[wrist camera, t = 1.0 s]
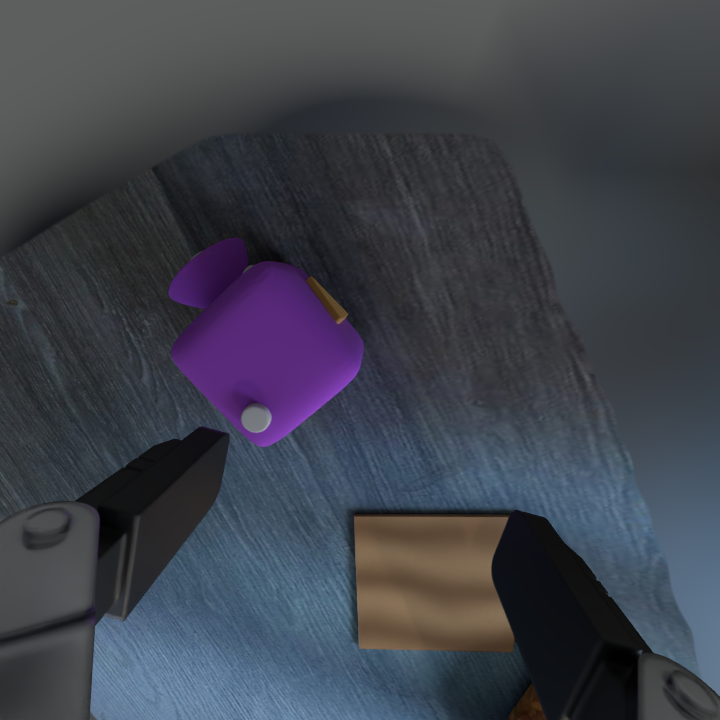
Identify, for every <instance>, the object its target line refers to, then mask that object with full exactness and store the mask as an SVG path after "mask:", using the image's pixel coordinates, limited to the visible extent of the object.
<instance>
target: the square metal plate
mask: <svg viewBox="0 0 720 720" xmlns="http://www.w3.org/2000/svg"><path fill="white" fill-rule="evenodd" d="M509 516H510V514H354V534H355V559H356V584H357V609H358V634H359V649H396V650H437V651H478V652H513V649H514V635H513V633H512V630H511V627H510V625H509V622H508V620H507V617H506V615H505V612H504V609H503V607H502V604H501V602H500V599H499V597H498V594H497V591H496V589H495V586H494V584H493V580H492V573H491V566H492V559H493V556H494V553H495V551H496V548H497V546H498V543H499V541H500V538H501V536H502V533H503V531H504V528H505V526H506V523H507V521H508V518H509Z"/></svg>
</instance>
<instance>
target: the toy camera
mask: <svg viewBox="0 0 720 720" xmlns="http://www.w3.org/2000/svg"><path fill="white" fill-rule="evenodd" d="M168 294H169V297H170V298H171V299H172V300H174V301H176V302H179V303H181V304H185V305H189V306H193V307H197V308H202V309H205V310H204V311H203V312H202V313H201V314H200V315H199V316H198V317H197V318H196V319H195V320H194V321H193V322H192V323H191V324H190V325H189V326H188V327H187V328H186V329H185V330H184V332H183V333H182V334H181V335H180V336H179V337H178V339H177V340H176V341H175V343H174V345H173V347H172V349H171V356H172V359H173V361H174V362H175V364H176V365H177V367H178V368H179V369H180V370H181V371H182V372H183V373H184V375H185V376H186V377H187V378H188V379H189V380H190V381H191V382H192V383H193V384H194V385H195V386H196V387H197V388H198V389H199V390H200V391H201V392H202V393H203V394H204V395H205V396H206V397H207V399H208V400H209V401H210V402H211V403H212V404H213V405H214V406H215V407H216V408H217V409H218V410H219V411H220V412H221V413H222V414H223V415H224V416H225V417H226V418H227V419H228V420H229V421H230V422H231V423H232V424H233V425H234V426H235V427H236V428H237V429H238V430H239V431H240V432H241V433H242V434H243V435H244V436H245V437H246V438H247V439H248V440H250V441H251V442H252V443H254V444H255V445H258V446H261V447H265V446H269V445H271V444H273V443H275V442H277V441H279V440H280V439H282V438H283V437H284V436H286V435H287V434H288V433H290V432H291V431H292V430H293V429H295V428H296V427H297V426H298V425H300V424H301V423H302V422H303V421H304V420H306V419H307V418H308V417H309V416H310V415H312V414H313V413H314V412H315V411H317V410H318V409H319V408H320V407H321V406H323V405H324V404H325V403H326V402H327V401H329V400H330V399H331V398H332V397H334V396H335V395H336V394H337V393H338V392H339V391H341V390H342V389H343V388H344V387H345V386H346V385H347V384H348V383H350V382H351V381H352V380H353V378H354V377H355V376H356V374H357V373H358V371H359V368H360V365H361V361H362V356H363V350H364V345H363V341H362V339H361V337H360V335H359V334H358V333H357V331H356V330H355V329H354V328H353V326H352V325H351V324H350V323H349V322H348V321H347V319H346V317H347V315H348V313H347V312H346V311H345V310H344V309H343V308H342V307H341V306H340V305H339V304H338V303H337V302H336V301H335V300H334V299H333V298H332V297H331V296H330V295H329V294H328V293H327V291H326V290H325V289H324V288H323V287H322V286H321V285H320V284H319V283H318V282H317V281H316V280H315V279H314V278H313V277H311V276H310V277H309V276H308V275H307V274H306V273H305V272H304V271H303V270H301V269H300V268H298V267H296V266H293V265H289V264H286V263H281V262H274V261H264V262H260V263H258V264H256V265H250V266H249V263H248V255H247V249H246V245H245V243H244V241H243V240H242V239H241V238H229V239H226V240H223V241H220V242H218V243H216V244H214V245H212V246H210V247H208V248H207V249H205V250H203V251H201V252H199V253H198V254H196V255H195V256H194V257H192V258H191V260H190V261H189V262H188V263H187V264H186V265H185V266H184V267H183V268H182V269H181V270H180V271H179V272H178V273H177V275H176V276H175V277H174V279H173V281H172V283H171V285H170V287H169V292H168Z"/></svg>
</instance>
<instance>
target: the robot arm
mask: <svg viewBox="0 0 720 720" xmlns="http://www.w3.org/2000/svg"><path fill="white" fill-rule="evenodd" d="M228 445H229V434H228V433H225V432H221V431H217V430H214V429H210V428H206V427H202V426H201V427H199V428H197V429H196V430H195V431H193V432H192V433H191V434H190V435H188V436H187V437H186V438H184V439H183V440H182V441H181V440H177V439H172V440H169V441H166V442H163V443H160V444H157V445H154V446H153V447H152V448H150V449H149V450H147V451H146V452H144V453H143V454H142V455H140V456H139V458H138V459H137V458H136V459H134V460H133V461H132V462H130V463H129V464H127V465H126V467H125V468H122V469H120V470H119V471H117V472H116V473H114V474H113V475H112V476H110V477H109V478H107V479H106V480H104V481H103V482H102V483H100V484H99V485H97V486H96V487H94V488H93V489H92V490H90V491H89V492H87V493H86V494H84V495H83V496H82V497H80V498H79V499H77V500H76V501H54V502H48V503H42V504H38V505H34V506H31V507H28V508H25V509H23V510H20V511H18V512H16V513H14V514H12V515H10V516H8V517H7V518H5V519H4V520H2V521H1V522H0V720H89V718H90V701H91V684H92V668H93V651H94V634H95V626H96V624H97V623H98V622H99V621H100V620H101V618H102V617H103V616H105V617H109V618H112V619H116V620H120V621H125V619H126V618H127V617H128V615H129V614H130V613H131V611H132V610H133V609H134V607H135V606H136V605H137V604H138V602H139V601H140V600H141V598H142V597H143V596H144V594H145V593H146V592H147V590H148V589H149V588H150V587H151V585H152V584H153V583H154V581H155V580H156V579H157V577H158V576H159V575H160V574H161V572H162V571H163V570H164V568H165V567H166V566H167V564H168V563H169V562H170V560H171V559H172V558H173V557H174V555H175V554H176V553H177V551H178V550H179V549H180V547H181V546H182V545H183V543H184V542H185V541H186V540H187V538H188V537H189V536H190V534H191V533H192V532H193V530H194V529H195V528H196V526H197V525H198V524H199V523H200V521H201V520H202V519H203V517H204V516H205V515H206V513H207V512H208V511H209V509H210V508H211V507H212V505H213V503H214V502H215V500H216V497H217V495H218V492H219V490H220V486H221V482H222V477H223V472H224V466H225V461H226V456H227V451H228ZM491 573H492V580H493V584H494V586H495V589H496V591H497V594H498V597H499V599H500V602H501V604H502V607H503V609H504V612H505V615H506V617H507V620H508V622H509V625H510V627H511V630H512V633H513V635H514V638H515V640H516V643H517V645H518V648H519V650H520V653H521V656H522V658H523V661H524V663H525V666H526V668H527V671H528V674H529V676H530V679H531V681H532V684H533V686H534V689H535V692H536V694H537V697H538V699H539V702H540V704H541V707H542V710H543V712H544V715H545V717H546V720H720V696H718V694H716V692H715V691H714V690H712V689H711V688H710V687H709V686H708V685H707V684H706V683H705V682H703V681H702V680H701V679H700V678H698V677H697V676H696V675H695V674H693V673H692V672H690V671H689V670H688V669H686V668H685V667H683V666H681V665H680V664H678V663H677V662H675V661H673V660H671V659H669V658H667V657H664V656H662V655H659V654H655V653H653V652H652V651H651V649H650V648H649V647H648V645H647V644H646V643H645V641H644V640H643V639H642V637H641V636H640V635H639V633H638V632H637V631H636V629H635V628H634V627H633V625H632V624H631V623H630V621H629V620H628V619H627V617H626V616H625V615H624V613H623V612H622V611H621V609H620V608H619V607H618V605H617V604H616V603H615V601H614V600H613V599H612V597H609V596H608V592H607V591H606V590H605V588H604V587H603V586H602V584H601V583H600V582H599V581H597V580H596V576H595V575H594V574H593V572H592V571H591V570H590V568H589V567H588V566H587V564H586V563H585V562H584V560H583V559H582V558H581V557H580V556H578V555H577V554H576V553H575V552H574V551H573V550H572V549H571V548H570V547H568V546H567V545H566V544H565V543H564V542H563V540H562V539H561V538H560V536H559V535H558V534H557V532H556V531H555V529H554V528H553V527H552V525H551V524H550V523H549V521H548V520H547V519H546V518H544V517H541V516H537V515H534V514H530V513H526V512H522V511H518V510H515V511H513V512H512V513H511V514H510V516H509V518H508V521H507V523H506V526H505V528H504V531H503V533H502V536H501V538H500V541H499V543H498V546H497V548H496V551H495V553H494V556H493V559H492V566H491Z"/></svg>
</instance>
